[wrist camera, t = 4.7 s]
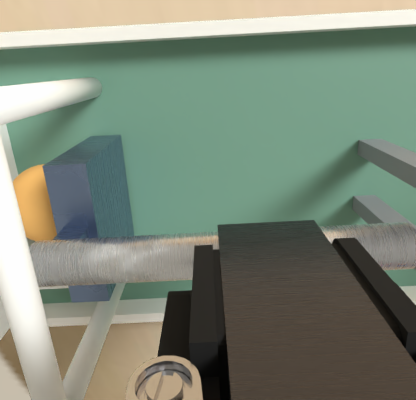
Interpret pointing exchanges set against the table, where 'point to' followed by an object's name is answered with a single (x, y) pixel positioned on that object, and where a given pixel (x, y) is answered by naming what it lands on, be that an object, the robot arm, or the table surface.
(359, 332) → the striker
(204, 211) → the pitch
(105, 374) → the table surface
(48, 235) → the ball
